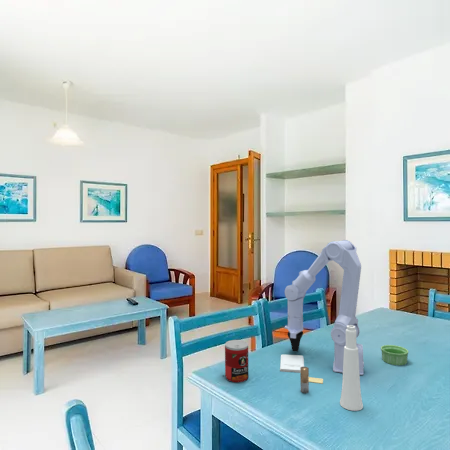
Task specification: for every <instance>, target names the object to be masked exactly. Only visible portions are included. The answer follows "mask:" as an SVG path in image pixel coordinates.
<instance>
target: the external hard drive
mask: <svg viewBox="0 0 450 450" xmlns="http://www.w3.org/2000/svg"><path fill="white" fill-rule="evenodd" d="M279 366H280V367H279V372H283V373H285V372H286V373H298V374H300V368H301V367H305V359H304V355H298V354H281V355H280V364H279Z"/></svg>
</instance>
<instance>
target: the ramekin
mask: <svg viewBox="0 0 450 450" xmlns="http://www.w3.org/2000/svg"><path fill="white" fill-rule="evenodd" d="M380 350H381V358H382V361H383V362H384V363H387V364H389V365H393V366H405V365H406V364H407V363H408V357H409V350H408V349H407V348H405V347H403V346H399V345H394V344H384V345H381V346H380Z"/></svg>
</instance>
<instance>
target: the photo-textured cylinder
mask: <svg viewBox="0 0 450 450" xmlns="http://www.w3.org/2000/svg"><path fill="white" fill-rule="evenodd" d="M309 372H310V371H309V367H308V366H304V367H301V368H300V373H299V374H300V381H299V382H300V393H302V394H308V393H309V391H310V386H309V385H310V382H309V377H310V374H309Z"/></svg>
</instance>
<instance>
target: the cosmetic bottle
mask: <svg viewBox="0 0 450 450" xmlns="http://www.w3.org/2000/svg"><path fill="white" fill-rule="evenodd" d="M356 342H357V338H356V330H355V326H353V325H347V329H346V346H344V360H343V373H342V385H341V391H340V392H341V393H340V399H339V405H340V406H341V407H342V408H343V409H345V410H348V411H353V412H356V411H357V412H358V411H361V410H363V408H364V404H363V399H362V393H361V391H362V390H361V378H360V376H361V375H359V355H358V348H357V347H356Z"/></svg>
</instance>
